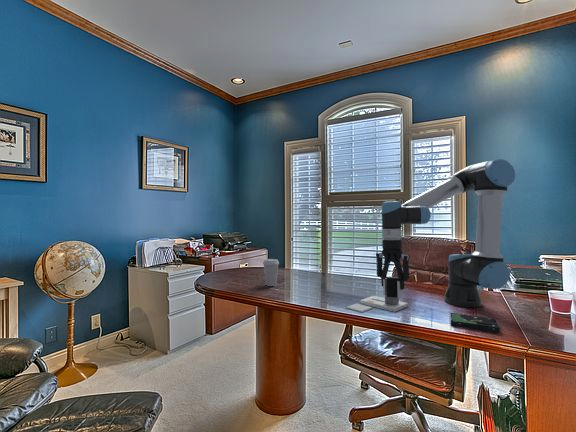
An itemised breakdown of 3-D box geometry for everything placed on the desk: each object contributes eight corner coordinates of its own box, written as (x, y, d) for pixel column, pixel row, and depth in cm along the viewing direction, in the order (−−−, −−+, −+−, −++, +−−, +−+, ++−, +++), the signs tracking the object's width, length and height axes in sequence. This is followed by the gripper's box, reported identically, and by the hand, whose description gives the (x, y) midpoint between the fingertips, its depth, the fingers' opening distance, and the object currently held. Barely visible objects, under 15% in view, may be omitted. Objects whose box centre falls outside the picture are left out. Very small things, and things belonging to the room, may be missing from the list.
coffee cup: (264, 283, 176) (264, 258, 176) (280, 284, 175) (280, 258, 175) (261, 287, 167) (261, 260, 167) (277, 287, 165) (277, 261, 166)
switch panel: (407, 306, 132) (407, 302, 132) (395, 312, 124) (395, 308, 124) (373, 298, 145) (373, 295, 145) (360, 303, 136) (360, 300, 136)
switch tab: (398, 303, 132) (398, 294, 132) (393, 305, 128) (393, 296, 128) (390, 301, 135) (390, 292, 135) (384, 303, 131) (384, 294, 131)
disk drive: (495, 326, 110) (450, 319, 117) (495, 318, 110) (450, 312, 117) (499, 335, 101) (450, 327, 108) (499, 327, 101) (450, 319, 108)
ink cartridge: (398, 296, 120) (398, 276, 120) (399, 297, 118) (399, 278, 118) (386, 295, 122) (386, 276, 122) (386, 296, 119) (386, 277, 120)
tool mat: (372, 308, 128) (372, 307, 128) (362, 312, 123) (362, 311, 123) (356, 304, 134) (356, 303, 134) (346, 308, 129) (346, 306, 129)
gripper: (367, 238, 124) (367, 293, 124) (410, 240, 111) (411, 302, 111) (376, 237, 129) (377, 290, 129) (418, 239, 116) (419, 298, 116)
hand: (392, 295), depth 120 cm, fingers closed on ink cartridge, 5 cm apart
